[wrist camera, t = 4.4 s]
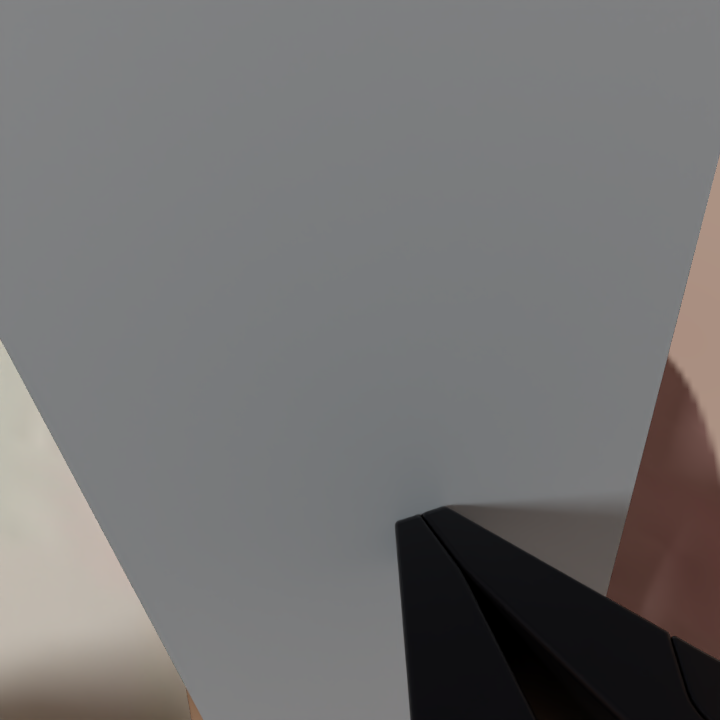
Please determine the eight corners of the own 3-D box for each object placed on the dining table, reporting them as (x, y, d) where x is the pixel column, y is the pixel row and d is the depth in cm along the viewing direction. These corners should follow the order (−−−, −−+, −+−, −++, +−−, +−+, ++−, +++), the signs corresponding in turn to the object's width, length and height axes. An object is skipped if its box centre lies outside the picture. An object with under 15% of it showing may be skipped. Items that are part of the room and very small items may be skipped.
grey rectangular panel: (590, 670, 12) (797, -116, 5) (249, 814, 11) (-221, -53, 3) (561, 628, 13) (700, -91, 6) (242, 754, 12) (-136, -31, 4)
